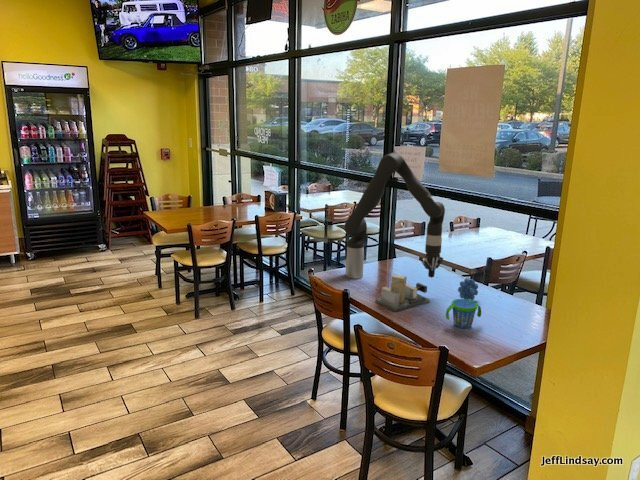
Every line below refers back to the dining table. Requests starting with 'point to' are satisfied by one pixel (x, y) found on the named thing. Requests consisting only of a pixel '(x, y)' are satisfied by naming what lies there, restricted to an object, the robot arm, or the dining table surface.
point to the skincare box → (399, 286)
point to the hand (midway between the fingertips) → (431, 276)
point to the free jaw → (414, 291)
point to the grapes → (468, 289)
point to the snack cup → (463, 312)
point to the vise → (392, 300)
